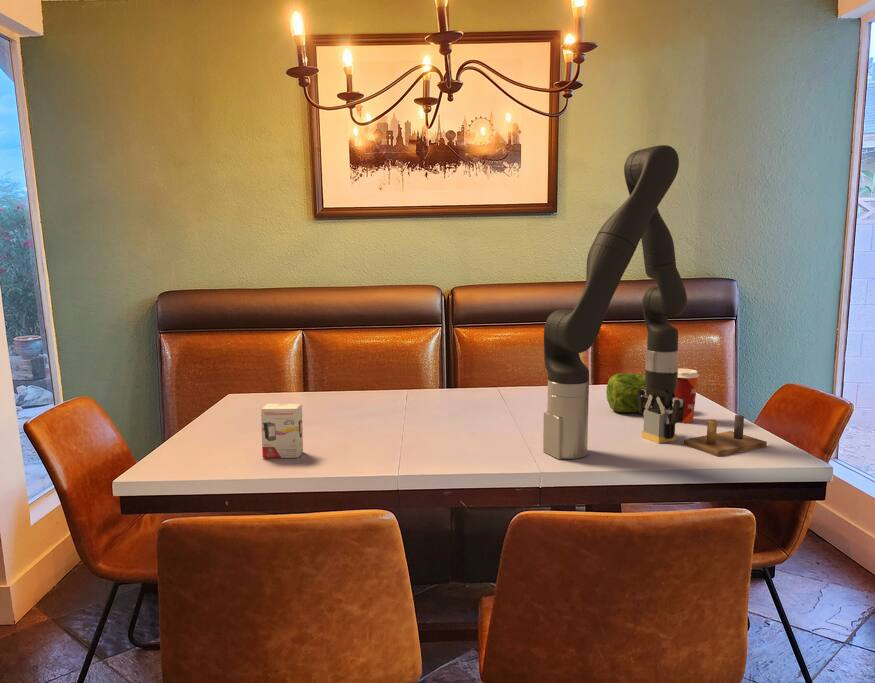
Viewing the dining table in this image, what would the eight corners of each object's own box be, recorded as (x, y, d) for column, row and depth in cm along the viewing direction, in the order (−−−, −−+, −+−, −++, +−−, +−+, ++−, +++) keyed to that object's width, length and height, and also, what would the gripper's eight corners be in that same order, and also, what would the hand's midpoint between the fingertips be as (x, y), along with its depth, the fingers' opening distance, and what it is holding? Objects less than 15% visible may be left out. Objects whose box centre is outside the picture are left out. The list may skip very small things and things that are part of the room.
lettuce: (685, 416, 171) (687, 377, 169) (612, 417, 172) (613, 377, 170) (671, 406, 182) (673, 369, 181) (602, 407, 183) (603, 370, 181)
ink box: (261, 458, 139) (258, 408, 138) (267, 451, 144) (265, 403, 143) (299, 458, 139) (297, 408, 138) (304, 451, 144) (302, 403, 143)
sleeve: (658, 443, 147) (659, 415, 146) (641, 437, 152) (642, 410, 151) (675, 440, 150) (677, 412, 149) (658, 434, 155) (660, 407, 154)
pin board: (717, 456, 137) (719, 427, 136) (683, 444, 146) (684, 417, 145) (766, 446, 144) (768, 419, 143) (730, 435, 153) (732, 409, 152)
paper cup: (699, 424, 163) (702, 373, 161) (669, 423, 164) (671, 372, 162) (693, 417, 170) (695, 368, 168) (664, 416, 172) (666, 367, 170)
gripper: (629, 365, 153) (627, 429, 156) (672, 374, 140) (669, 444, 143) (651, 362, 156) (649, 425, 159) (696, 371, 143) (692, 440, 146)
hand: (658, 434), depth 151 cm, fingers open, 6 cm apart
